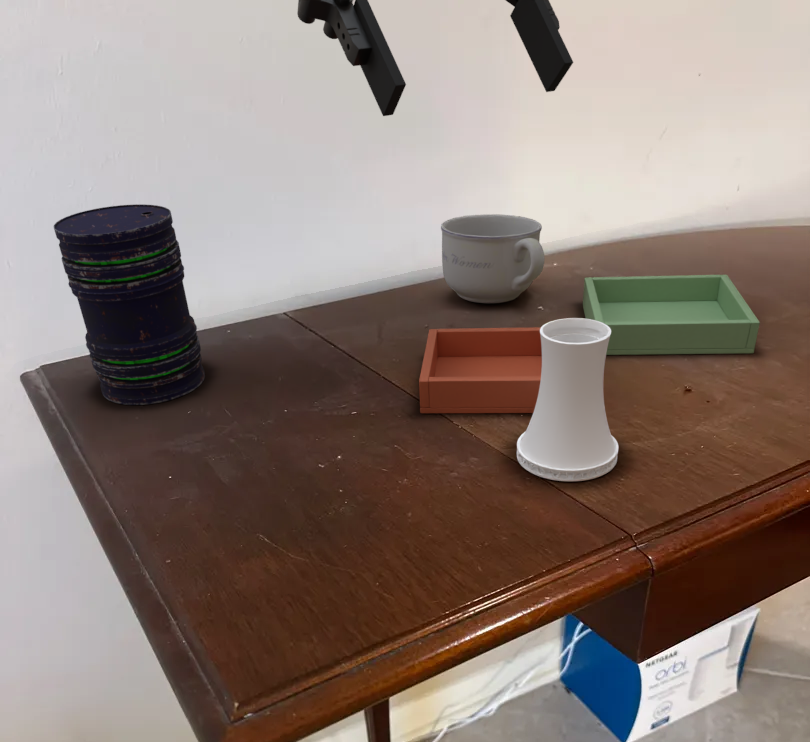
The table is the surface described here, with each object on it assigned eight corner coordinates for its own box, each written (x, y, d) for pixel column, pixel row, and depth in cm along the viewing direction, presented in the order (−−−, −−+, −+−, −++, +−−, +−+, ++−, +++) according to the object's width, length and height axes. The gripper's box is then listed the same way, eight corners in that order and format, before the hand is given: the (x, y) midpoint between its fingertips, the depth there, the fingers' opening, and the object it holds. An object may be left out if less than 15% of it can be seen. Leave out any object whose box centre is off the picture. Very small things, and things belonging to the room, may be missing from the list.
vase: (596, 427, 65) (607, 306, 60) (632, 474, 59) (649, 344, 53) (505, 439, 65) (507, 317, 59) (532, 488, 59) (538, 357, 53)
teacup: (428, 289, 95) (426, 217, 90) (512, 274, 98) (514, 204, 93) (477, 328, 84) (477, 249, 79) (570, 310, 87) (575, 233, 82)
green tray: (722, 302, 86) (727, 274, 85) (753, 353, 75) (760, 322, 74) (582, 305, 88) (584, 277, 86) (593, 355, 77) (596, 324, 75)
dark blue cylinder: (111, 415, 72) (60, 242, 63) (91, 376, 79) (44, 216, 70) (219, 388, 75) (185, 220, 67) (191, 353, 83) (157, 198, 74)
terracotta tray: (552, 357, 77) (553, 326, 75) (558, 413, 68) (560, 379, 66) (430, 358, 78) (429, 328, 77) (420, 413, 69) (418, 380, 67)
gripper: (483, -122, 66) (592, 105, 64) (185, -116, 56) (302, 152, 54) (526, -224, 59) (650, 27, 57) (194, -237, 49) (329, 65, 47)
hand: (481, 89), depth 55 cm, fingers open, 13 cm apart
